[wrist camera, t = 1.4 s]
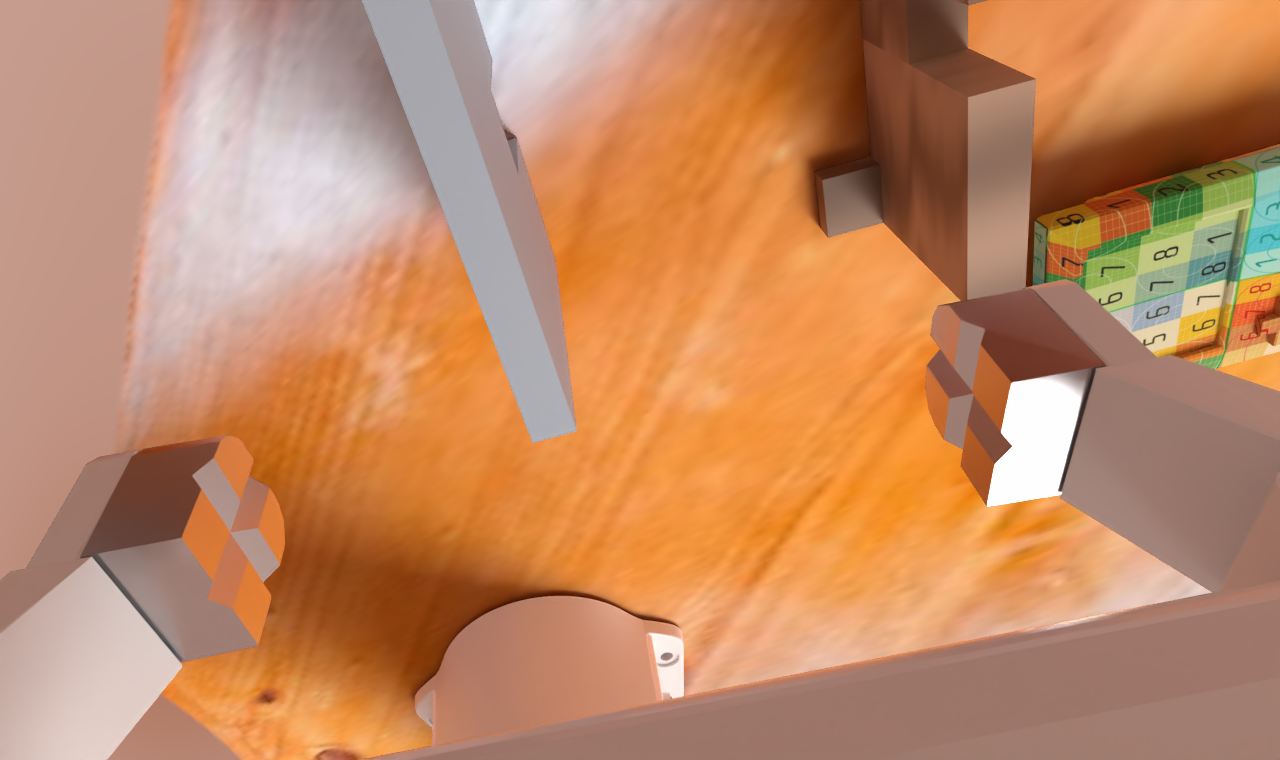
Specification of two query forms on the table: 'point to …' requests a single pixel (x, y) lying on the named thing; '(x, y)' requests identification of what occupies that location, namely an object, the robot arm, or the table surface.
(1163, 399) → the robot arm
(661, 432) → the table surface
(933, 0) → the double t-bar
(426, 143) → the grey notched slab
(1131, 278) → the puzzle game
